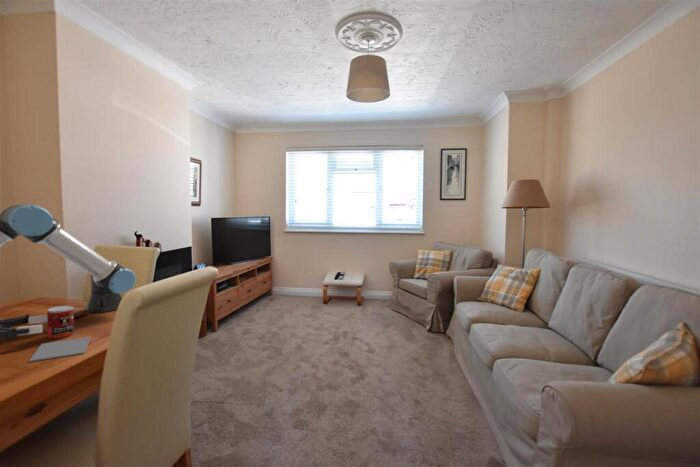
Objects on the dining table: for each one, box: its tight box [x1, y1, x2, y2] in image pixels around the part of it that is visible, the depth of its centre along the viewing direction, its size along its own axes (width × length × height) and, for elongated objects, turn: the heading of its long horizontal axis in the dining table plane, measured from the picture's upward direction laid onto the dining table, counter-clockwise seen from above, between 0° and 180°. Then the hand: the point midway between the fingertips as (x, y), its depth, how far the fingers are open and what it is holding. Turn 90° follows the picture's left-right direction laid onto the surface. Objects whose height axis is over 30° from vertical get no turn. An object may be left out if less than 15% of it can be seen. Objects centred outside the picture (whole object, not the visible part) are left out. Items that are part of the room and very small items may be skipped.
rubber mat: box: [28, 336, 91, 363], centre depth 115 cm, size 16×14×1 cm
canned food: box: [46, 305, 75, 340], centre depth 127 cm, size 8×8×11 cm
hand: (47, 323), depth 124 cm, fingers open, 13 cm apart
